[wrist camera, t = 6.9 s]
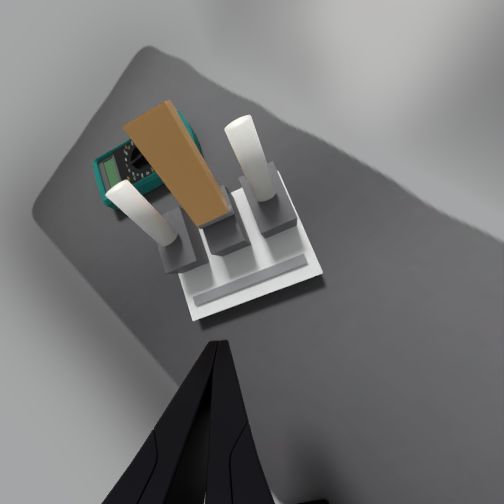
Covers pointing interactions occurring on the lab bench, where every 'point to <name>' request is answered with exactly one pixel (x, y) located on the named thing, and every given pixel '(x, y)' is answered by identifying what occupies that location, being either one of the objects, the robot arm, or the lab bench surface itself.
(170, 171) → the wooden block
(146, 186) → the digital multimeter
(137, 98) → the lab bench surface
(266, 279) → the twin post stand
